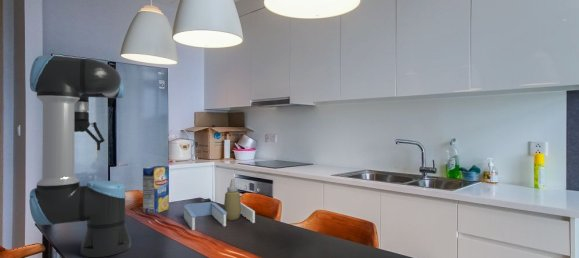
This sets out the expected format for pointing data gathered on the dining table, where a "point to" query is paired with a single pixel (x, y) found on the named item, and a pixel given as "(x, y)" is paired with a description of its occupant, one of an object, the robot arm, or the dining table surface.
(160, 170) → the blue food box
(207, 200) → the can opener
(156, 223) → the dining table surface
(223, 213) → the divider rack
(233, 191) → the squeeze bottle
